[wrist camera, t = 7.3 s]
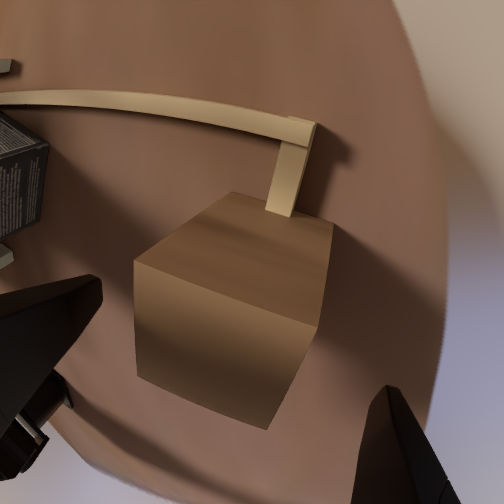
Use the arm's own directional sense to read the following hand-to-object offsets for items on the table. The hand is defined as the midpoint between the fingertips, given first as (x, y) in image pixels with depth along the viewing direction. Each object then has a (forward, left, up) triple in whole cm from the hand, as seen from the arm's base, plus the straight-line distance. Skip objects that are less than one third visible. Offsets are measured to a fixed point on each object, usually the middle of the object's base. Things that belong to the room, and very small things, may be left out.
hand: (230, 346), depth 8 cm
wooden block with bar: (0, +13, -6) cm, 14 cm away
